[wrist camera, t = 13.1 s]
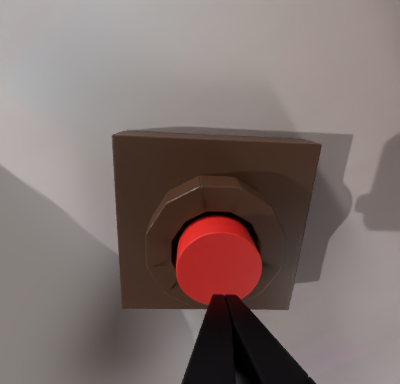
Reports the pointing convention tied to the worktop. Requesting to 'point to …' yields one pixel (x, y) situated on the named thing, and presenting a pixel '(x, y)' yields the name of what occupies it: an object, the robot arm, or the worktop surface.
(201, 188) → the block
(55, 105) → the worktop surface
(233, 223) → the power button
